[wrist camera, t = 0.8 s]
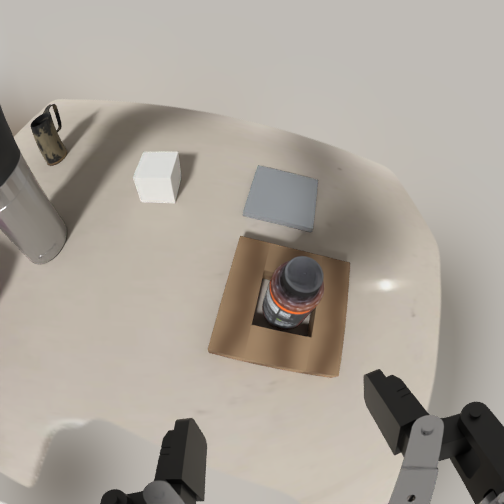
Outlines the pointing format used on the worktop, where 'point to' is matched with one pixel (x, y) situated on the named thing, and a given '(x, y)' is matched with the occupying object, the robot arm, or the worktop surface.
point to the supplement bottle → (293, 292)
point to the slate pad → (282, 198)
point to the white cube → (158, 177)
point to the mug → (49, 137)
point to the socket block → (272, 341)
